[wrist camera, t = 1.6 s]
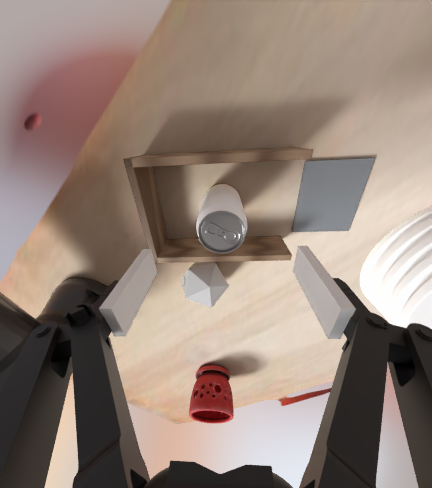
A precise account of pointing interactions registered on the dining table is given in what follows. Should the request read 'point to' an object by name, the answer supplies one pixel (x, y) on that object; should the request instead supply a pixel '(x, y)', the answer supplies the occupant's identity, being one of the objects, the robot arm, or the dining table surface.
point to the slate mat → (330, 194)
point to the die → (204, 283)
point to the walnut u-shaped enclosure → (192, 247)
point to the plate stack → (402, 272)
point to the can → (221, 220)
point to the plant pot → (212, 396)
